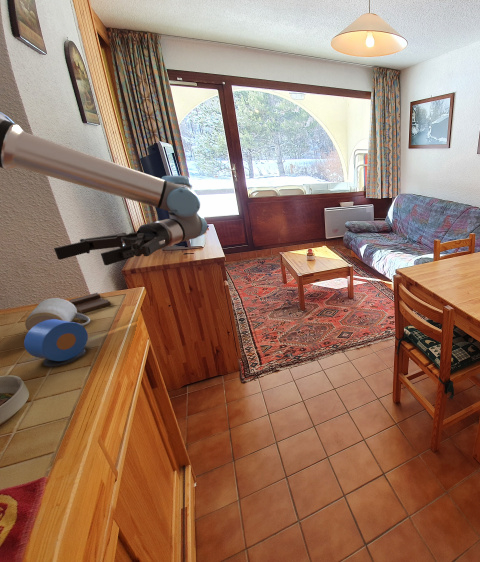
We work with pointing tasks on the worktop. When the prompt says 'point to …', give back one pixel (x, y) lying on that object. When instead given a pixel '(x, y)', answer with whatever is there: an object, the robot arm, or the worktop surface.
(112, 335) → the worktop surface
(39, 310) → the ceramic mug
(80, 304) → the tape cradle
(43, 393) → the worktop surface
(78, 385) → the worktop surface
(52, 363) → the coaster
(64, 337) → the tape roll
